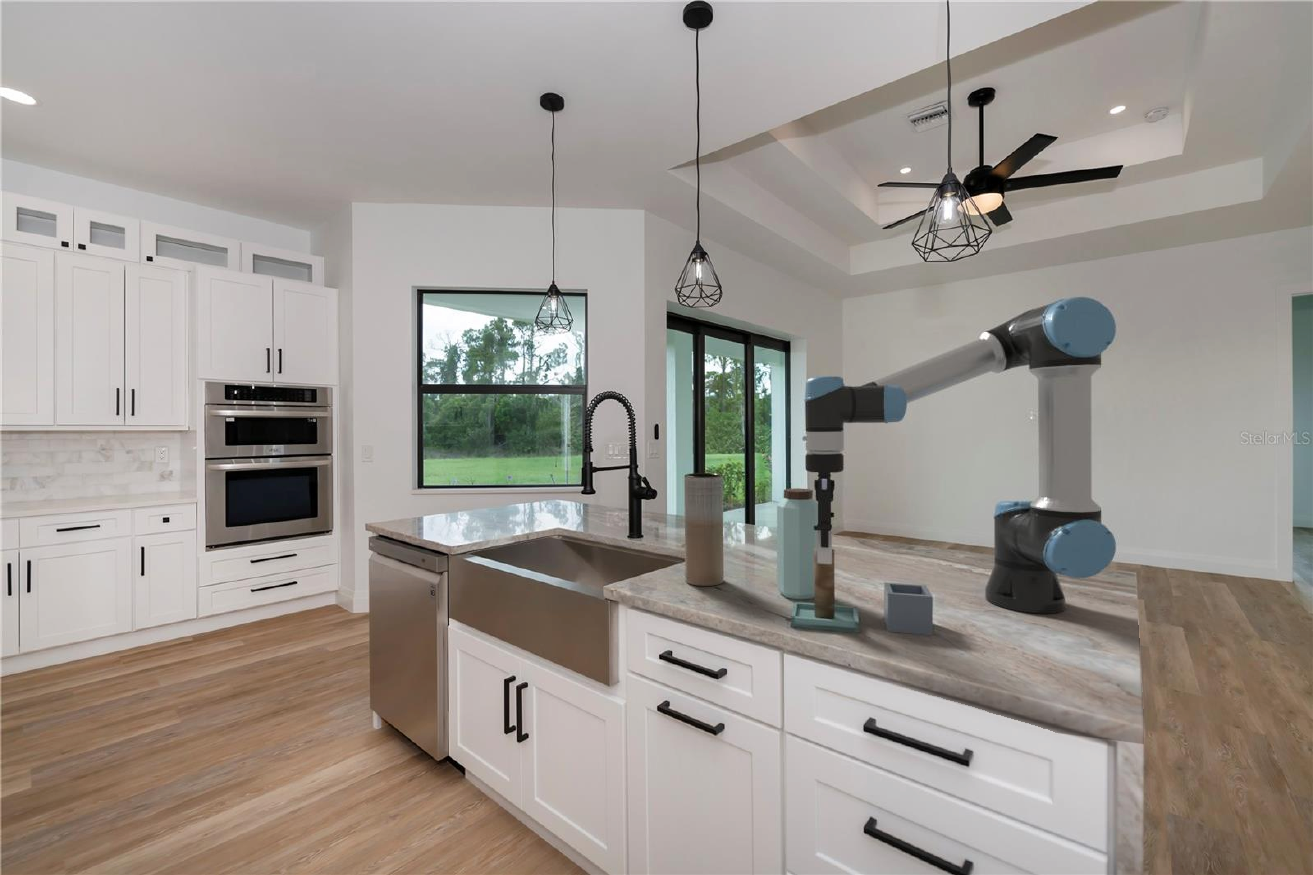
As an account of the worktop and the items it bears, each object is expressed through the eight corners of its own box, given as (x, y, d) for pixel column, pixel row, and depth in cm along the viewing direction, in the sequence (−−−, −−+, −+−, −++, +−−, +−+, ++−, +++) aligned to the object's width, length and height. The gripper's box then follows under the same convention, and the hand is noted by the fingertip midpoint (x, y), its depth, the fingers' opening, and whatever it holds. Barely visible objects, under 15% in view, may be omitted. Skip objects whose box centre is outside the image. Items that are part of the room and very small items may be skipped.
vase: (682, 576, 153) (681, 473, 152) (719, 575, 154) (718, 472, 153) (688, 587, 143) (687, 477, 142) (727, 586, 144) (726, 476, 143)
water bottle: (822, 601, 131) (821, 493, 130) (777, 599, 133) (777, 492, 132) (818, 589, 140) (818, 487, 140) (777, 587, 142) (776, 487, 142)
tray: (856, 616, 121) (856, 606, 121) (859, 633, 111) (859, 623, 111) (793, 610, 125) (793, 601, 125) (790, 627, 115) (790, 617, 115)
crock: (925, 621, 118) (925, 585, 117) (932, 635, 110) (932, 596, 110) (884, 617, 120) (884, 582, 120) (888, 631, 112) (888, 593, 112)
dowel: (834, 613, 119) (834, 547, 119) (834, 620, 116) (834, 552, 115) (814, 612, 121) (814, 546, 120) (814, 619, 117) (813, 551, 116)
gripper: (807, 449, 130) (807, 541, 131) (803, 456, 106) (803, 569, 107) (841, 449, 128) (842, 543, 129) (845, 456, 104) (845, 572, 105)
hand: (824, 555), depth 118 cm, fingers open, 13 cm apart
